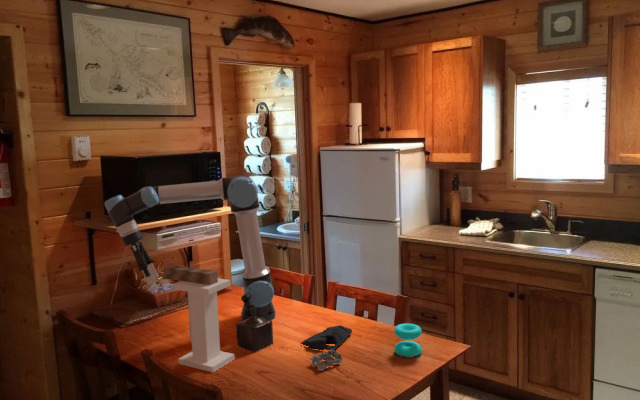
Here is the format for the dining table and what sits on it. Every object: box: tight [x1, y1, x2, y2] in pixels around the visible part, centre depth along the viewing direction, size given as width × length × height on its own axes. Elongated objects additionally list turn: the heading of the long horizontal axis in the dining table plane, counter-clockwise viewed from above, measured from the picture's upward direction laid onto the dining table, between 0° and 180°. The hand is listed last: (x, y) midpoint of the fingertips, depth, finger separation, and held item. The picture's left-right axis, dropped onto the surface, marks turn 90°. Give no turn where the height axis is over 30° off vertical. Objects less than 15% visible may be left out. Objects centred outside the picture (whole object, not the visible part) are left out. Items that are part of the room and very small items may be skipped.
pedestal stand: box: [173, 277, 236, 373], centre depth 197 cm, size 16×12×30 cm
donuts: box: [393, 322, 423, 358], centre depth 201 cm, size 10×10×10 cm
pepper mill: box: [235, 294, 274, 353], centre depth 214 cm, size 16×11×18 cm
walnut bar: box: [163, 264, 219, 285], centre depth 198 cm, size 22×4×4 cm, turn 61°
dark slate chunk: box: [300, 325, 353, 351], centre depth 215 cm, size 15×22×5 cm
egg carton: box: [309, 349, 344, 370], centre depth 194 cm, size 11×8×4 cm
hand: (154, 281), depth 217 cm, fingers open, 13 cm apart
